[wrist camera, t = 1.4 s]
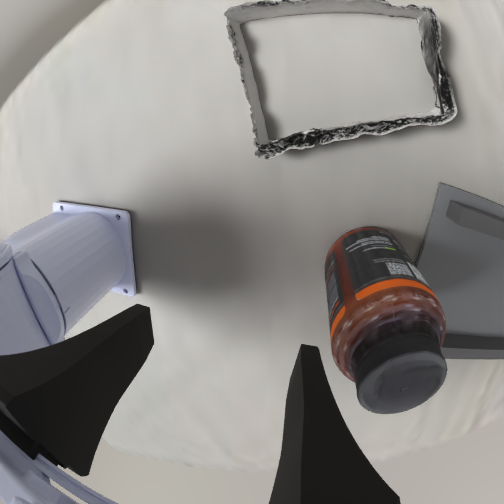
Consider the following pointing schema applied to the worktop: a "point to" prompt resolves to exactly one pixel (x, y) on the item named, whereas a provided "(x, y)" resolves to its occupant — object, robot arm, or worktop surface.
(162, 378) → the worktop surface
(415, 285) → the supplement bottle
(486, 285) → the mat
